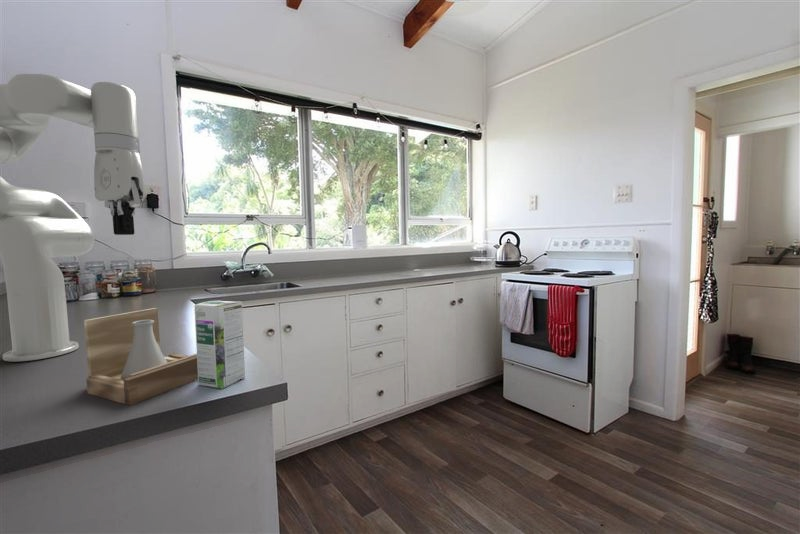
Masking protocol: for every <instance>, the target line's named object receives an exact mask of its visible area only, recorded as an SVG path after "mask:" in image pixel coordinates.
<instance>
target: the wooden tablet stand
mask: <svg viewBox="0 0 800 534" xmlns="http://www.w3.org/2000/svg"><path fill="white" fill-rule="evenodd" d="M158 309H159V308H158V307H152V308H145V309H142V310H141V309H140V310H136V311H129V312H123V313H118V314H113V315H107V316H106V315H104V316H101V317H99V316H98V317H95V318H90V319H89V318H88V319H84V320H83V325H84V326H83V327H84V336H85V337H84V338H85V339H84V340H85V348H86V349H85V350H86V361H87V362H86V363H87V372H88V378H92V377H99V378H103V379H107V380H111V381H115V382H119V383H123V384H124V381H123V379H121V375H122V372H123V370H124V367H125V364H126V362H127V359H128V356H129V353H130V350H131V347H132V344H133V338H134V327H133V326H132V325H131V323H133V322H135V321H140V320H154V323H153V325H152V327H153V333H154V337H155V340H156V342H157V344H158V346H159V348H160V349H161V342H160V340H161V339H160V327H159V326H160V325H159V311H158ZM163 356H164V355H163ZM194 356H197V352H196V353H194V354H191V355H188V356H187V357H184V358H181V359H176V358H171V357H169V356H164V357H165V359H166V361H167V363H165V364H162V365H158V366H155V367H152V368H149V369H146V370H143V371H139V372H136V373H133V374H130V375H129V377H132V376H135V375H139V374H142V373H145V372H148V371H151V370H154V369H157V368H160V367H163V366H166V365H170V364H173V363H176V362H179V361H182V360H185V359H188V358H191V357H194Z"/></svg>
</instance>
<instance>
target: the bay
mask: <svg viewBox="0 0 800 534" xmlns="http://www.w3.org/2000/svg"><path fill="white" fill-rule="evenodd" d="M187 356H189V355H187V354H183V353H175V352H173V353H169V354H168V356H167V357H171V358H176V359H181V358H184V357H187ZM123 381H124V384H123V383H119V382H115V381H111V380H107V379H103V378H99V377H92V378H89V377H88V378H86V387H87V388H86V390H87V394H89V395H92V396H94V397H95V396H96V397H99V398H103V399H107V400H109V401H113V402H117V403H119V404H123V405H127V406H131V407H132V406H133V405H137V404H138V403H140V402H143V401H145V400H147V399H150V398H153V397H156V396H158V395H161V394H163V393H166V392H168V391H171V390H174V389H176V388H179V387H181V386H184V385H187V384H189V383H191V382H195V381H198V368H197V356H194V357H191V358H188V359H185V360H182V361H179V362H176V363H173V364H170V365H166V366H163V367H160V368H157V369H154V370H151V371H148V372H145V373H142V374H139V375H135V376H132V377H129V378H126V379H123Z"/></svg>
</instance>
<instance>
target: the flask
mask: <svg viewBox="0 0 800 534" xmlns="http://www.w3.org/2000/svg"><path fill="white" fill-rule="evenodd" d="M153 323H154V320H140V321H135V322H133V323H131V325H132V326H133V327H134V338H133V344H132V347H131V350H130V353H129V356H128V359H127V362H126V364H125V367H124V370H123V372H122V375H121V379H126V378H129V375H130V374H133V373H136V372H139V371H143V370H146V369H149V368H152V367H155V366H158V365H162V364H165V363H167V361H166V359H165V357H166V356H165V357H164V354H163V353H162V350H161V347H160V348H159V346H158V344H157V342H156V340H155V337H154V333H153V327H152V325H153Z"/></svg>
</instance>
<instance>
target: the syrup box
mask: <svg viewBox="0 0 800 534" xmlns="http://www.w3.org/2000/svg"><path fill="white" fill-rule="evenodd" d="M243 316H244V315H243V301H231V300H230V301H229V300H208V301H203V302H199V303H196V304H194V321H195V322H194V323H195V325H194V326H195V342H196V344H195V345H196V353H197V368H198V379H197V384H198V386H206V387H210V388H216V389H220V390H222V389H225V388H227V387H229V386H230V385H233V384H235V383H237V382H239V381H241V380H242V379H245V378H246V369H245V368H246V367H245V364H246V363H245V342H244V318H243ZM240 379H241V380H240ZM238 380H239V381H238Z"/></svg>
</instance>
